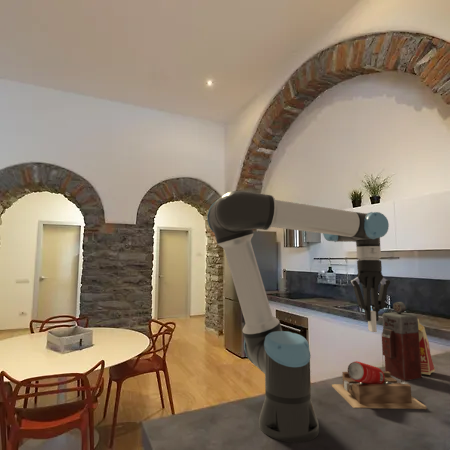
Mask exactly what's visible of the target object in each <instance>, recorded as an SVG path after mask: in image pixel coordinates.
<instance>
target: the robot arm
mask: <svg viewBox="0 0 450 450" xmlns="http://www.w3.org/2000/svg"><path fill="white" fill-rule="evenodd" d="M206 216H207V217H206V218H207V225H208V227H209V229H210V230H211V231H212V232H213V234H214V237H215V242H216V245H218V246H219V247H221V248H222V249H223V252H224V253H225V254H224V255H225V258H226V260H227V265H228V268H229V271H230V275H231V277H232V281H233V285H234V289H235V293H236V295H237V298H238V302H239V305H240V308H241V309H240V310H241V313H242V315H243V316H242V317H243V319H244V323H245V324H244V325H243V328H242V333H243V337H244V341H243V348H244V352H245V355H246V357H247V358H248V360H249V361H250V362H251V363H252V364H253V365H254V366H255V367H257V368H258V369H259V370H260V371H261V372H262V373H263V374H264V376H265V377H264V382H265V383H264V389H265V390H264V391H265V392H264V393H265V398H264V400H263V404H262V407H261V410H260V413H259V418H258V427H259V429H260V431H261V432H262V433H263V434H265V435H266V436H268V437H270V438H272V439H274V440H278V441H281V442H286V443H306V442H310V441H313V440H314V439H316V438H317V437H318V435H319V434H320V426H319V425H320V424H319V420H318V417H317V414H316V412H315V409H314V406H313V403H312V393H311V391H312V389H311V388H312V386H311V384H312V383H311V350H310V344H309V341H308V340H307V339H306V338H305V336H303V335H301V334H298V333H295V332H291V331H284V330H283V328H282V326H281V322H280V320H279V319H278V318H277V317H275V316H274V315H273V312H272V309H271V306H270V303H269V299H268V297H267V292H266V288H265V285H264V282H263V278H262V275H261V271H260V267H259V265H258V261H257V258H256V255H255V252H254V248H253V244H252V238H253V236H254V230H264V231H267V230H268V231H269V230H270V229H271V228H277V229H285V230H292V231H294V230H295V231H300V232H309V233H316V234H322V235H323V238H324V239H325V240H326V241H328V242H334V243H336V242H339V243H340V242H346V243H347V242H349V243H350V242H354V243H355V246H356V258H357V259H358V260H357V261H356V264H357V266H356V268H357V269H356V270H357V274H356V277H355V278H353V279H351V280H350V281H349V283H350V284H351V286H352V287H353V291H354V294H355V298H356V301H357V305H358V308H359V309H361V310H364V316H365V321H367V327H368V328H367V329H368V331H369V332H371V333H377V331H378V330H377V327H378V326H377V322H379V312H380V311H381V310H384V309H385V305H386V299H387V298H386V297H387V293H388V288H389V286H390V284H391V281H390V280H389V279H386V278H385V277H384V275H383V273H382V269H383V267H382V260H380V259H381V258H382V253H381V250H382V249H381V238H382V237H384V236H386V234H387V233H388V232H389V227H390V224H389V220H388V218H387V217H386V215H385V214H383V213H382V212H379V211H374V212H373V211H371V212H367V213H364V212H356V211H350V210H344V209H337V208H330V207H325V206H318V205H311V204H306V203H298V202H292V201H291V202H290V201H286V200H285V201H284V200H278V199H275V197H274V196H273V195H271V194H264V193H258V192H253V191H246V190H231V191H228V192H227V193H224V194H223V195H222V196H220V198H218V199H217V200H215V201H214V202H213V203H212V204H211V205H210V207H209V209H208V212H207V215H206ZM360 284H361V286H362V290H361V287H360ZM379 285H380V287H379ZM362 291H363V293H362Z"/></svg>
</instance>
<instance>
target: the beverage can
mask: <svg viewBox="0 0 450 450" xmlns="http://www.w3.org/2000/svg"><path fill="white" fill-rule="evenodd" d="M382 371H383V370H382V369H381V368H379V367H376V366H375V365H374V366H373V365H371V364H367V363H365V362H361V361H357V360H356V361H352V362H350V363H349V365H347V372H348V374H349V376H350V377H351V378H352V379H353V380H354V381H357V382H361V383H365V384H383V382H384V379H385V377H384V373H383V372H382Z"/></svg>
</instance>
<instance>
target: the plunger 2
mask: <svg viewBox="0 0 450 450" xmlns="http://www.w3.org/2000/svg"><path fill="white" fill-rule="evenodd" d="M400 383H401V384H408V385H409V383H408V382H407V381H404V380H401V379H400ZM385 384H392V383H391V382H389V381H387V382H385Z"/></svg>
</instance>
